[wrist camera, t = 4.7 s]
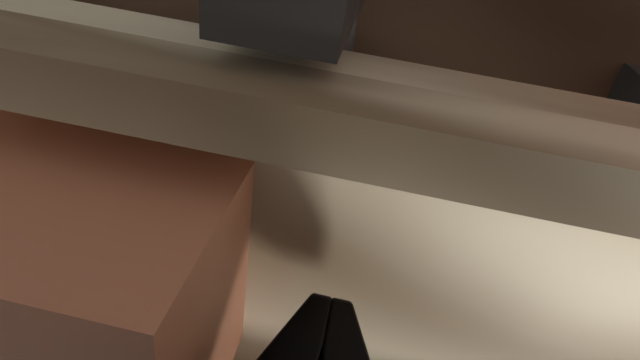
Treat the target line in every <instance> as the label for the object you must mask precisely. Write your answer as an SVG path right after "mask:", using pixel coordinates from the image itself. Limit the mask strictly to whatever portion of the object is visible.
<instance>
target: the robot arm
mask: <svg viewBox="0 0 640 360" xmlns="http://www.w3.org/2000/svg"><path fill="white" fill-rule="evenodd" d="M256 360H370V357H369V354H368V351H367V348H366V344H365V341H364V338H363V335H362V332H361V328H360V325H359V322H358V319H357V315H356V312H355V309H354V306H353V304H352V302H351V301H348V300H344V299H339V298H331V297H330V296H326V295H322V294H318V293H312V294H311V295H310V296H309V297H308V298H307V299H306V300H305V302H304V303H303V304H302V305H301V306H300V308H299V309H298V310H297V311H296V312H295V314H294V315H293V316H292V317H291V318H290V320H289V321H288V322H287V323H286V324H285V326H284V327H283V328H282V329H281V330H280V332H279V333H278V334H277V335H276V336H275V338H274V339H273V340H272V341H271V342H270V343H269V345H268V346H267V347H266V348H265V349H264V351H263V352H262V353H261V354H260V355H259V357H258V358H257V359H256Z"/></svg>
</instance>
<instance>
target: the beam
mask: <svg viewBox="0 0 640 360" xmlns="http://www.w3.org/2000/svg"><path fill="white" fill-rule="evenodd" d="M0 110H4V111H9V112H14V113H19V114H24V115H29V116H34V117H39V118H44V119H49V120H54V121H59V122H64V123H68V124H73V125H78V126H83V127H88V128H93V129H98V130H103V131H108V132H113V133H118V134H123V135H128V136H133V137H138V138H142V139H147V140H152V141H157V142H162V143H167V144H172V145H177V146H182V147H187V148H192V149H197V150H202V151H207V152H212V153H216V154H221V155H226V156H231V157H236V158H241V159H246V160H251V161H255V169H254V182H253V196H252V210H251V224H250V237H249V251H248V265H247V279H246V292H245V306H244V320H243V334H242V338H241V340H240V343H239V345H238V348H237V351H236V353H235V356H234V359H233V360H256V359H257V358H258V357H259V355H260V354H261V353H262V352H263V351H264V349H265V348H266V347H267V346H268V345H269V343H270V342H271V341H272V340H273V339H274V338H275V336H276V335H277V334H278V333H279V332H280V330H281V329H282V328H283V327H284V326H285V324H286V323H287V322H288V321H289V320H290V318H291V317H292V316H293V315H294V314H295V312H296V311H297V310H298V309H299V308H300V306H301V305H302V304H303V303H304V302H305V300H306V299H307V298H308V297H309V296H310V295H311V294H312V293H318V294H322V295H326V296H330V297H331V298H339V299H344V300H348V301H351V302H352V304H353V306H354V309H355V312H356V315H357V319H358V322H359V325H360V328H361V332H362V335H363V338H364V341H365V344H366V348H367V351H368V354H369V357H370V360H640V104H636V103H630V102H625V101H619V100H614V99H608V98H603V97H597V96H592V95H587V94H581V93H576V92H570V91H565V90H559V89H554V88H548V87H543V86H537V85H532V84H527V83H521V82H516V81H510V80H505V79H499V78H494V77H488V76H483V75H477V74H472V73H466V72H461V71H456V70H450V69H445V68H439V67H434V66H428V65H423V64H417V63H412V62H406V61H401V60H395V59H390V58H385V57H379V56H374V55H368V54H363V53H357V52H352V51H346V50H343V51H342V53H341V55H340V58H339V60H338V62H337V65H336V64H331V63H326V62H320V61H315V60H309V59H304V58H299V57H293V56H288V55H283V54H277V53H272V52H267V51H261V50H256V49H251V48H245V47H240V46H235V45H229V44H224V43H219V42H213V41H208V40H203V39H199V23H193V22H188V21H183V20H177V19H172V18H166V17H161V16H155V15H150V14H144V13H139V12H133V11H128V10H122V9H117V8H112V7H106V6H101V5H95V4H90V3H84V2H79V1H73V0H0Z"/></svg>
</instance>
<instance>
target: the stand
mask: <svg viewBox="0 0 640 360" xmlns="http://www.w3.org/2000/svg"><path fill="white" fill-rule="evenodd" d="M73 1H79V2H84V3H90V4H95V5H101V6H106V7H112V8H117V9H122V10H128V11H133V12H139V13H144V14H150V15H155V16H161V17H166V18H172V19H177V20H183V21H188V22H193V23H199V39H203V40H208V41H213V42H219V43H224V44H229V45H235V46H240V47H245V48H251V49H256V50H261V51H267V52H272V53H277V54H283V55H288V56H293V57H299V58H304V59H309V60H315V61H320V62H326V63H331V64H336V65H337V62H338V60H339V58H340V55H341V53H342V51H343V50H346V51H352V52H357V53H363V54H368V55H374V56H379V57H385V58H390V59H395V60H401V61H406V62H412V63H417V64H423V65H428V66H434V67H439V68H445V69H450V70H456V71H461V72H466V73H472V74H477V75H483V76H488V77H494V78H499V79H505V80H510V81H516V82H521V83H527V84H532V85H537V86H543V87H548V88H554V89H559V90H565V91H570V92H576V93H581V94H587V95H592V96H597V97H603V98H608V99H614V100H619V101H625V102H630V103H636V104H640V0H73Z"/></svg>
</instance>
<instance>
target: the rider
mask: <svg viewBox="0 0 640 360" xmlns="http://www.w3.org/2000/svg"><path fill="white" fill-rule="evenodd" d="M254 169H255V161H251V160H246V159H241V158H236V157H231V156H226V155H221V154H216V153H212V152H207V151H202V150H197V149H192V148H187V147H182V146H177V145H172V144H167V143H162V142H157V141H152V140H147V139H142V138H138V137H133V136H128V135H123V134H118V133H113V132H108V131H103V130H98V129H93V128H88V127H83V126H78V125H73V124H68V123H64V122H59V121H54V120H49V119H44V118H39V117H34V116H29V115H24V114H19V113H14V112H9V111H4V110H0V360H233V359H234V356H235V353H236V351H237V348H238V345H239V343H240V340H241V338H242V334H243V320H244V306H245V292H246V279H247V265H248V251H249V237H250V224H251V210H252V196H253V182H254Z"/></svg>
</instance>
